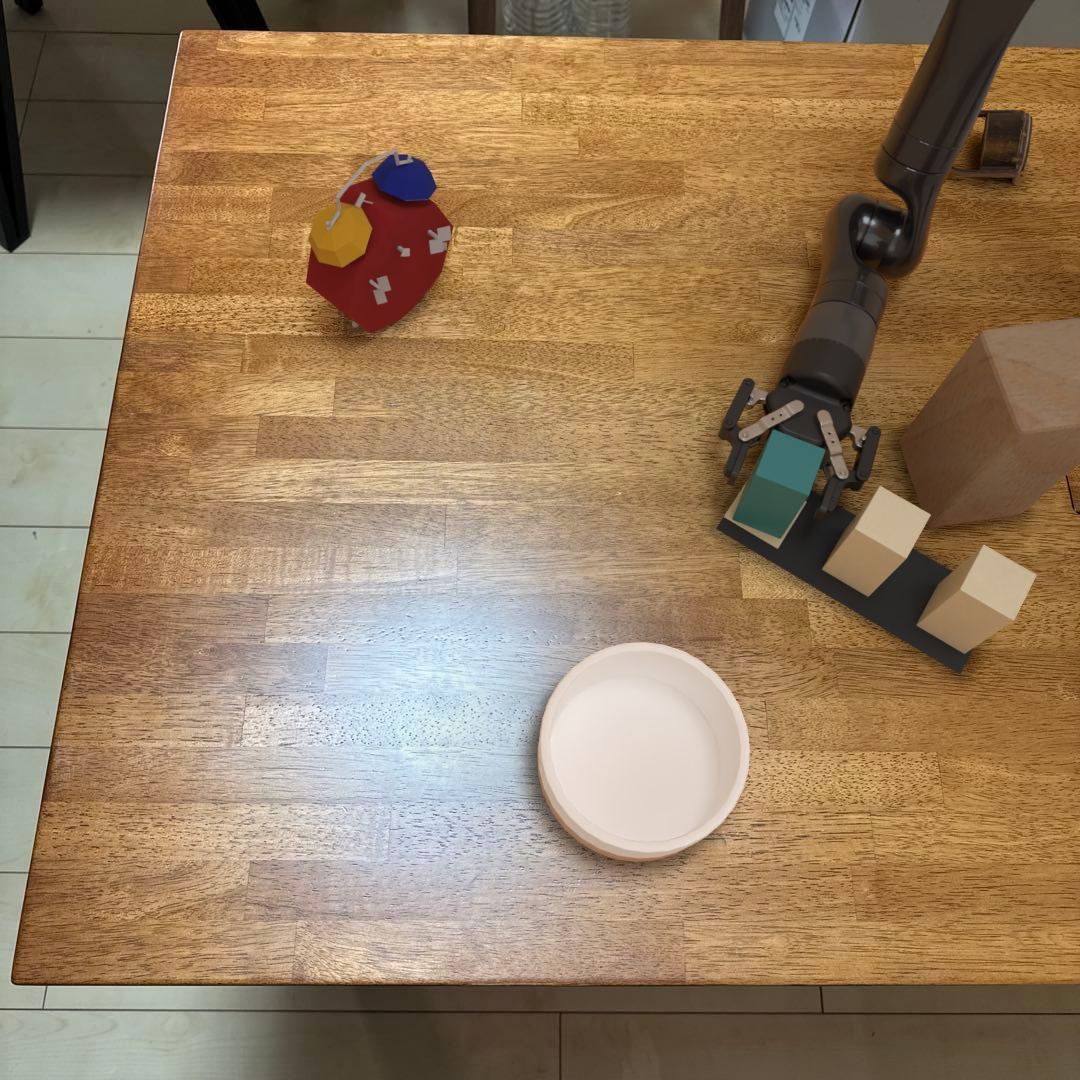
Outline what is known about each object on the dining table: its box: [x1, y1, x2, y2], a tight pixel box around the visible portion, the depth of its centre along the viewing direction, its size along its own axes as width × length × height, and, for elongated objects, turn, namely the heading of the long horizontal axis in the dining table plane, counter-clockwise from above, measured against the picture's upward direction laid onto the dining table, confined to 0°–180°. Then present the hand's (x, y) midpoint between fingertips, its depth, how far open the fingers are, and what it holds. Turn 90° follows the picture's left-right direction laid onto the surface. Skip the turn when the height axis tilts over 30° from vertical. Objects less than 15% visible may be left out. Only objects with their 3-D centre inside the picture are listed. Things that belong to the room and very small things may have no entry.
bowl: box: [536, 641, 751, 863], centre depth 86 cm, size 17×17×8 cm
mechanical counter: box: [949, 109, 1034, 186], centre depth 115 cm, size 7×13×10 cm
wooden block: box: [898, 317, 1080, 528], centre depth 93 cm, size 10×10×20 cm
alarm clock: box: [305, 147, 454, 335], centre depth 99 cm, size 15×9×20 cm, turn 139°
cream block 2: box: [916, 544, 1037, 654], centre depth 91 cm, size 5×5×10 cm
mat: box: [715, 481, 975, 675], centre depth 98 cm, size 26×9×1 cm, turn 57°
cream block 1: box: [822, 485, 931, 597], centre depth 93 cm, size 5×5×10 cm
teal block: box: [732, 430, 825, 539], centre depth 95 cm, size 5×5×10 cm
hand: (775, 499), depth 93 cm, fingers open, 8 cm apart
